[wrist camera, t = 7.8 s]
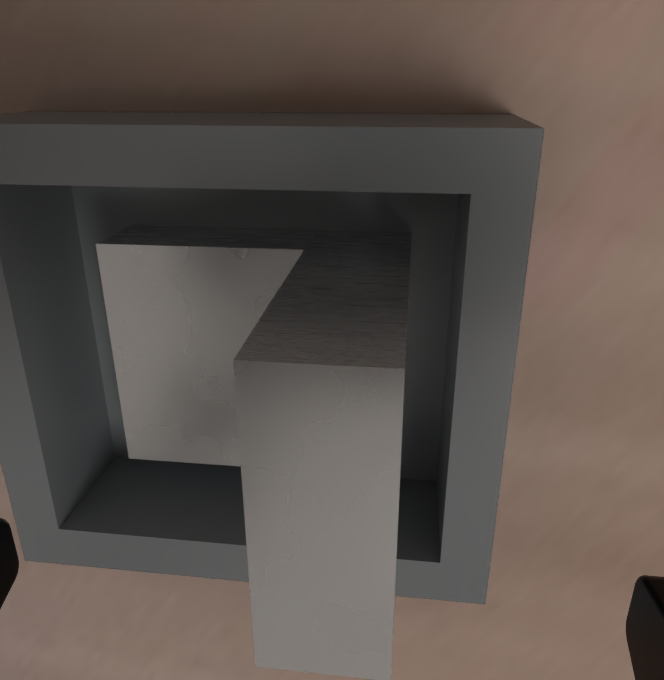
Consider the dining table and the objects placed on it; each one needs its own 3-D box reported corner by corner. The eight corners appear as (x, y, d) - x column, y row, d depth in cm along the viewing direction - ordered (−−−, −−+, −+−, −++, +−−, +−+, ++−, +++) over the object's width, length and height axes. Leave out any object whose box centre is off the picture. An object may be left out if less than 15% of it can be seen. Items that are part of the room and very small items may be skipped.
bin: (473, 504, 20) (484, 604, 16) (93, 475, 21) (25, 560, 17) (513, 114, 15) (544, 128, 11) (28, 111, 17) (-83, 123, 13)
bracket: (402, 436, 18) (390, 681, 11) (156, 421, 19) (-6, 638, 12) (411, 231, 16) (404, 368, 9) (131, 225, 17) (-92, 344, 9)
